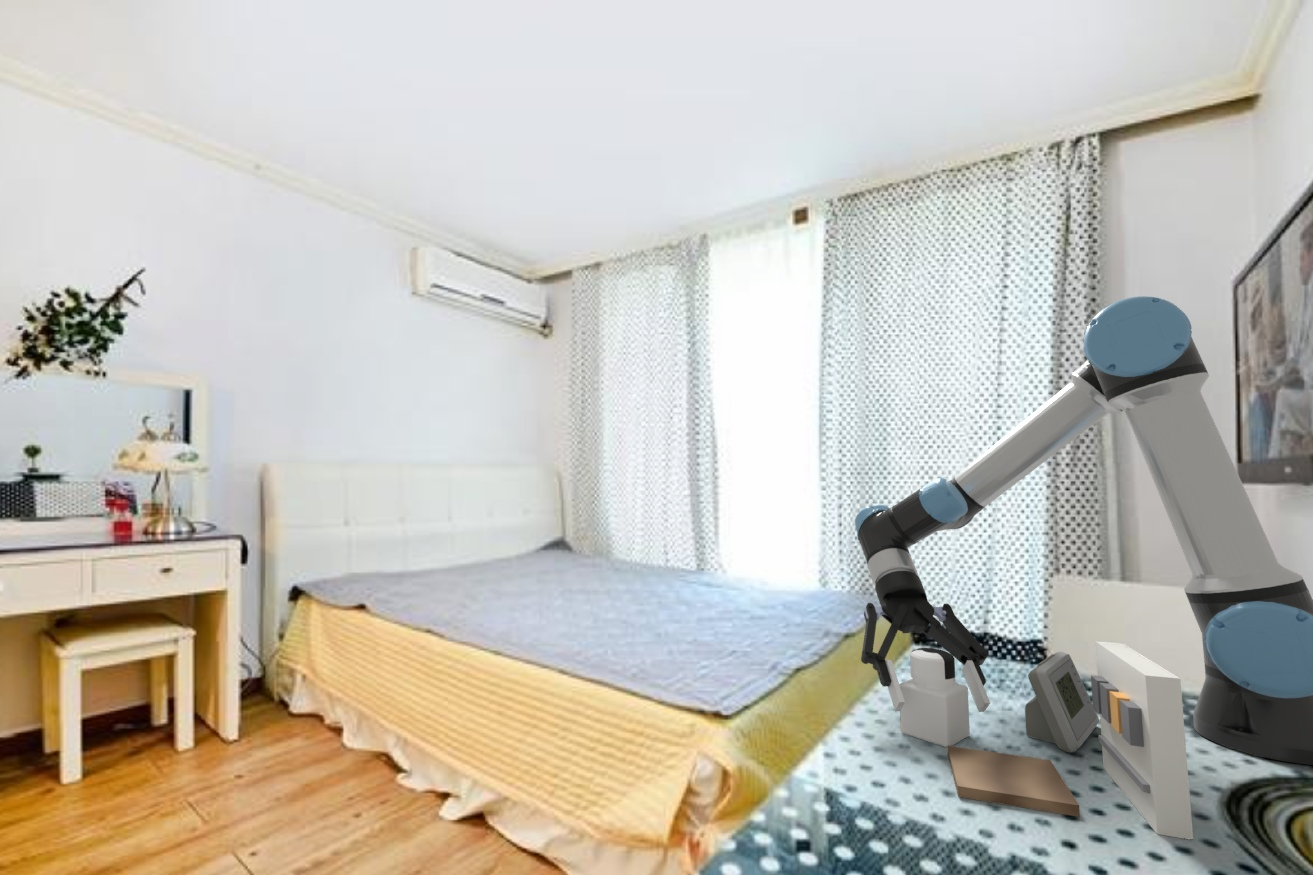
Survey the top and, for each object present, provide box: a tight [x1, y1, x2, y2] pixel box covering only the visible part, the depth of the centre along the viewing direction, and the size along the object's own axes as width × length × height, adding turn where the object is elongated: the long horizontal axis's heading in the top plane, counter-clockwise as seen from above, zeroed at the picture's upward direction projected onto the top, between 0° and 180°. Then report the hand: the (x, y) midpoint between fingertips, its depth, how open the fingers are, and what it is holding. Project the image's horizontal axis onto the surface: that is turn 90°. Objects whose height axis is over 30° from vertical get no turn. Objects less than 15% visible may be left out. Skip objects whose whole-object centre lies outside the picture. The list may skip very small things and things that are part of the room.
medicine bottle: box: [899, 647, 971, 749], centre depth 88 cm, size 7×7×12 cm
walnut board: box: [946, 745, 1081, 818], centre depth 73 cm, size 12×12×1 cm
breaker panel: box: [1090, 640, 1194, 840], centre depth 69 cm, size 4×16×16 cm, turn 159°
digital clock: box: [1024, 651, 1100, 753], centre depth 88 cm, size 16×9×11 cm, turn 122°
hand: (942, 707), depth 85 cm, fingers open, 11 cm apart
